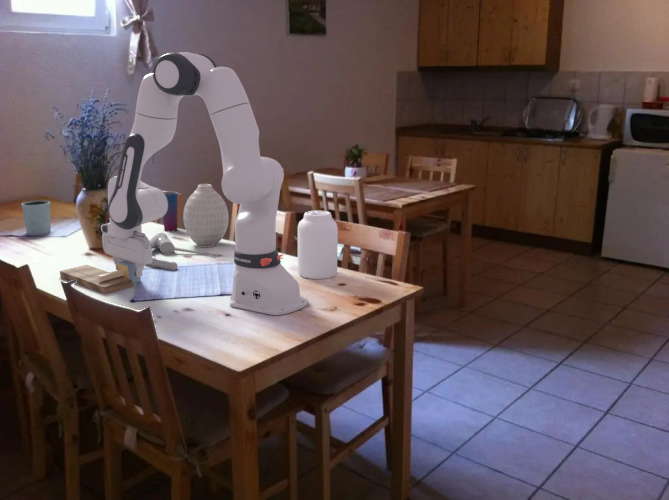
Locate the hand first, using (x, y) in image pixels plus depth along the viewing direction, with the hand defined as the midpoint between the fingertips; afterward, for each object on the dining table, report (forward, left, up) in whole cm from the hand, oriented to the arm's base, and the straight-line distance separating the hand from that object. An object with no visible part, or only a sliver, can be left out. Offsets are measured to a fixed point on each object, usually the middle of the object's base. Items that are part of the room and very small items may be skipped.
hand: (129, 273), depth 194 cm
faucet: (+10, -25, -3) cm, 27 cm away
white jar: (-38, -43, -3) cm, 57 cm away
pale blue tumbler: (+79, -13, -3) cm, 80 cm away
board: (+7, +7, -2) cm, 10 cm away
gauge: (0, +4, -2) cm, 5 cm away
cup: (+45, -50, -3) cm, 67 cm away
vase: (+16, -44, -3) cm, 47 cm away
